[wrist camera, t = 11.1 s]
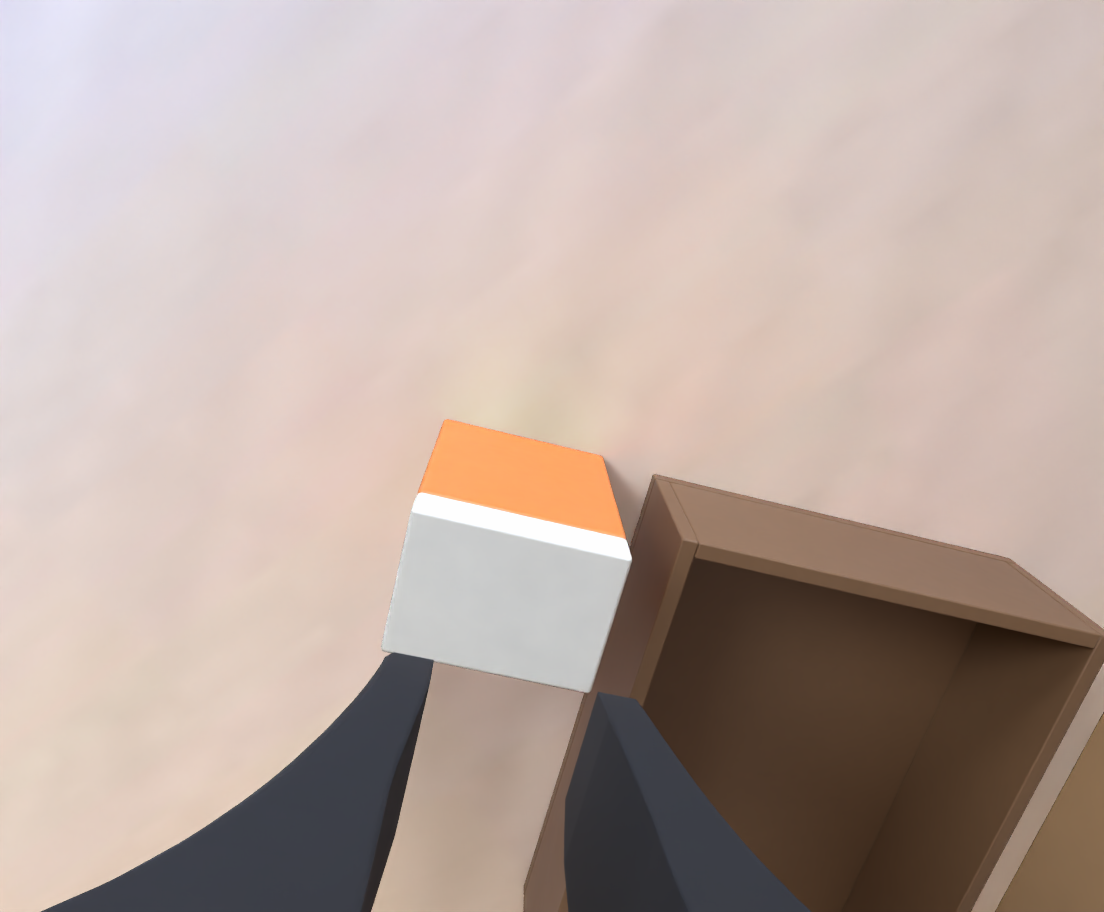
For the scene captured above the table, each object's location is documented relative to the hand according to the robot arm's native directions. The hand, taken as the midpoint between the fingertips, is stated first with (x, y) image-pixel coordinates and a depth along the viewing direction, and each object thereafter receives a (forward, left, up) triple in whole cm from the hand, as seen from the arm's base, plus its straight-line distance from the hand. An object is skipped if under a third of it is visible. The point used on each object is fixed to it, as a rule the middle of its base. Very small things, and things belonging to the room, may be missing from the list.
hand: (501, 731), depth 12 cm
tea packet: (0, 0, -10) cm, 10 cm away
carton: (-10, +3, -10) cm, 15 cm away
